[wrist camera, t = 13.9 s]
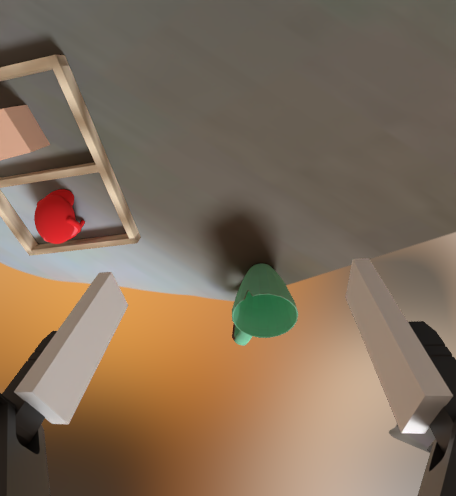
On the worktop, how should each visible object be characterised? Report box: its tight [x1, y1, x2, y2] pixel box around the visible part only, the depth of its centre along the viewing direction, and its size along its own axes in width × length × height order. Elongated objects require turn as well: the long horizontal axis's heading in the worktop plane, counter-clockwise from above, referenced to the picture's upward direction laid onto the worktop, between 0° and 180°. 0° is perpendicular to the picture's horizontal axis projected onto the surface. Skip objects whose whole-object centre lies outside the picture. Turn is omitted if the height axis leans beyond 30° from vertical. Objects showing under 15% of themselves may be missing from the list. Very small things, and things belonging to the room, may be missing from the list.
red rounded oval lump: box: [35, 189, 85, 244], centre depth 39 cm, size 8×6×6 cm
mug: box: [232, 264, 298, 345], centre depth 44 cm, size 15×10×10 cm
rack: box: [0, 55, 141, 256], centre depth 37 cm, size 25×20×2 cm
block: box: [0, 105, 50, 160], centre depth 33 cm, size 5×5×4 cm
